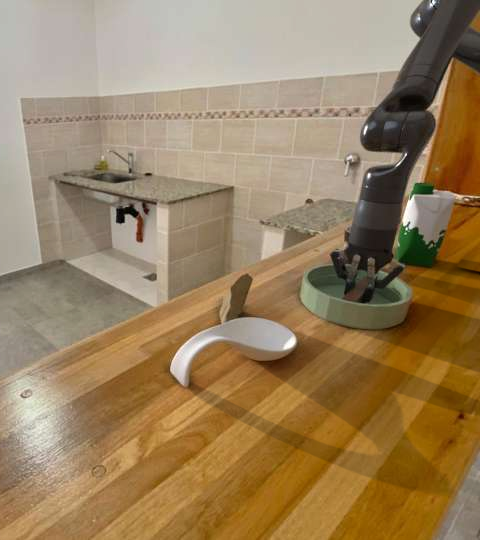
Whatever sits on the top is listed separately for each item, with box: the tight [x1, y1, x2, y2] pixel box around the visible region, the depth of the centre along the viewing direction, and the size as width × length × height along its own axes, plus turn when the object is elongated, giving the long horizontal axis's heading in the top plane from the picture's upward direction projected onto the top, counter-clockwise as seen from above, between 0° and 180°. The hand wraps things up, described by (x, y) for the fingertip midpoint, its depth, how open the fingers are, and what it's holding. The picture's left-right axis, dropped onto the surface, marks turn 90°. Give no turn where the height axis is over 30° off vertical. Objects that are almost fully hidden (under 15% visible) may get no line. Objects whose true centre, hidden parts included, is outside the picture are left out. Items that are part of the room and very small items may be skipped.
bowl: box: [299, 263, 414, 331], centre depth 81 cm, size 20×20×6 cm
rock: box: [219, 272, 254, 325], centre depth 78 cm, size 11×9×10 cm
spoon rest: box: [170, 316, 298, 388], centre depth 66 cm, size 24×12×7 cm, turn 116°
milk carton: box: [396, 182, 456, 268], centre depth 97 cm, size 9×9×20 cm
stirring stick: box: [342, 276, 367, 303], centre depth 80 cm, size 14×2×3 cm, turn 134°
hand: (357, 299), depth 81 cm, fingers closed on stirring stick, 2 cm apart
